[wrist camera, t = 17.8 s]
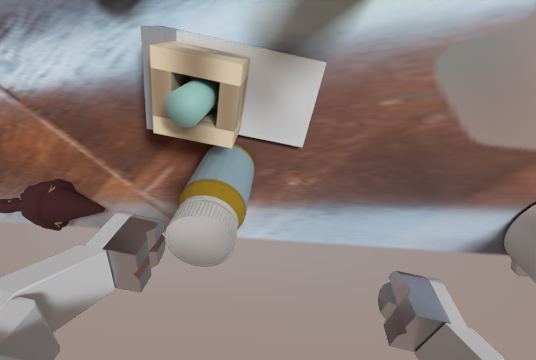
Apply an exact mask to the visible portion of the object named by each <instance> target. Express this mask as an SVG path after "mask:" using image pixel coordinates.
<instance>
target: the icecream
mask: <svg viewBox="0 0 536 360" xmlns="http://www.w3.org/2000/svg"><path fill="white" fill-rule="evenodd" d="M20 196H21V201H20V200H19V198H13V199H0V213H13V212H16V211H21V212H22V215H23V216H24V217H25V218H26V219H28V220H29V221H31V222H33V223H34V224H36V225H39V226H41V227H43V228H47V229H53V230H58V231H59V230H61V229H62V227H65V226H67V224H68V222H69V221H70V220H72V219H76V218H80V217H84V216H88V215H92V214H96V213H101V212H104V211H105V208H103V207H102V206H100V205H98V204H96V203H94V202H92V201H90V200H89V199H87V198H85V197H83V196H81V195H80V194H78V193H77V192H76V191H75V188H74V186H73V184H72V183H70V182H66V181H62V180H60V179H56V180H54V181H49V182H41V183H38V184H36V185H34V186H29V187H28V188H27V189H25V191H24V193H22V194H21V195H20Z"/></svg>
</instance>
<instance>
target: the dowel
mask: <svg viewBox="0 0 536 360" xmlns="http://www.w3.org/2000/svg"><path fill="white" fill-rule="evenodd" d="M219 90H220V82H217V81H212V80H208V79H203V78H198V77H197V78H195V79H193V80H192V81H190V82H188V83H186V84H184V85H183V86H181V87H179V88H177V89H176V90H174V91H172V92H170V93H169V94H168V96H167V97H166V99H165V111H166V113H167V115H168V117H169V118H170V120H171V121H172V122H174V123H175V124H177V125H178V126H181V127H193V126H195V125H196V124H198V122H199V121H200V120H201V119H202V118H203V117H204V116H205V115H206V114H207V113H208V112H209V111H210V110H211V109H212V108H213V107H214V106H215V105H216V103H217V102H218V101H219Z"/></svg>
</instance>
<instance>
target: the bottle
mask: <svg viewBox="0 0 536 360" xmlns="http://www.w3.org/2000/svg"><path fill="white" fill-rule="evenodd" d="M253 176H254V162H253V159H252V157H251V156H250V154H249V153H248V152H247V151H246V150H245V149H243V148H242V147H241V146H238V145H236V144H234V145H233V147H232V148H227V147H222V146H217V145H215V146H213V147H212V148H210V149H209V150H208V152H207V153H206V154H205V156H204V157H203V159H202V160H201V162H200V164H199V165H198V167H197V169H196V170H195V172H194V174H193V175H192V177H191V178H190V180H189V182H188V183H187V185H186V187H185V188H184V190H183V191H182V193H181V195H180V198H179V202H178V209H177V211H176V212H175V214H174V215H173V217H172V219H171V221H170V222H169V224H168V226H167V228H166V232H165V241H166V244H167V246H168V248H169V250H170V251H171V252H172V253H173V254H174V255H175V256H176V257H177V258H179V259H180V260H182V261H184V262H186V263H189V264H192V265H196V266H204V267H207V266H214V265H218V264H220V263H222V262H224V261H226V260H227V259H228V258H229V256H230V255H231V253H232V252H233V249H234V245H235V240H236V236H237V230H238V228H239V227H240V226H241V225H242V223H243V221H244V218H245V215H246V210H247V205H248V200H249V196H250V191H251V186H252V181H253Z"/></svg>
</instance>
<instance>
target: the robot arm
mask: <svg viewBox="0 0 536 360" xmlns="http://www.w3.org/2000/svg"><path fill="white" fill-rule="evenodd" d="M164 229H165V227H164V222H163V221H160V220H156V219H152V218H148V217H143V216H139V215H135V214H130V213H126V212H122V211H119V212H117V213H115V214H114V215H113V216H112V217H111V218H110V219H109V220H108V221H107V222H106V223H105V224H104V225H103V227H102V228H101V229H100V230H99V231H98V232H97V233H96V234H95V235H94V236H93V237H92V238H91V239H90V240H89V241H88V242H87V243H86V244H85V245H77V246H75V247H73V248H70V249H68V250H66V251H63V252H61V253H58V254H56V255H54V256H51V257H49V258H47V259H45V260H42V261H40V262H37V263H35V264H33V265H30V266H28V267H25V268H23V269H21V270H19V271H16V272H14V273H11V274H9V275H7V276H4V277H2V278H0V360H54V359H55V357H56V356H57V354H58V353H59V352H60V346H59V344H58V342H57V340H56V339H55V337H54V335H53V332H54V331H56V330H57V329H59V328H60V327H62V326H63V325H65V324H66V323H67V322H69V321H70V320H72V319H73V318H75V317H76V316H77V315H79V314H80V313H82V312H83V311H85V310H86V309H88V308H89V307H90V306H92V305H93V304H95V303H96V302H98V301H99V300H101V299H102V298H103V297H105V296H106V295H108V294H109V293H111V292H112V291H113V290H115V288H119V289H125V290H130V291H136V292H142V290H143V288H144V287H145V285H146V283H147V282H148V280H149V278H150V276H151V268H152V267H154V266H156V265H158V263H159V261H160V259H161V257H162V255H163V252H164V249H165V237H164V236H163V235H162V233H163V231H164ZM504 247H505V250H506V252H507V253H508V255H509V256H510V257H511V259H512V264H511V268H512V270H513V271H514V272H515V273H516V274H517V275H519V276H529V277H530V278H531V279H532V280H533V281H534V282H535V283H536V204H535V205H534V206H532V207H531V208H529V209H528V210H526V211H525V212H524V213H522V214H521V215H520V216H519V217H518V218H517V219H516V220H515V221H514V222H513V223H512V225H511V226H510V228H509V229H508V231H507V233H506V235H505V239H504ZM389 280H390V282H389V283H387V284H384V285H383V286H382V288H381V289H380V291H379V297H378V303H379V309H380V312H381V314H382V315H383V316H384V317H385V318H386V322H385V324H384V328H385V332H386V335H387V339H388V343H389V346H392V347H397V348H401V349H405V350H409V351H413V352H415V355H416V356H417V358H418V359H419V360H505V359H504V358H503V357H502V356H501V355H500V354H499V353H498V352H497V351H495V350H494V349H493V348H492V347H491V346H490V345H489V344H488V343H487V342H486V341H485V340H484V339H483V338H481V337H480V336H479V335H478V334H477V333H476V332H475V331H474V330H473V329H471V328H467V326H466V324H465V322H464V321H463V319H462V317H461V315H460V313H459V311H458V309H457V307H456V306H455V304H454V302H453V300H452V298H451V296H450V294H449V292H448V291H447V289H446V287H445V285H444V283H442V281H440V280H438V279H433V278H428V277H423V276H418V275H414V274H409V273H403V272H399V271H394V272H392V273H391V275H390V276H389Z"/></svg>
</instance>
